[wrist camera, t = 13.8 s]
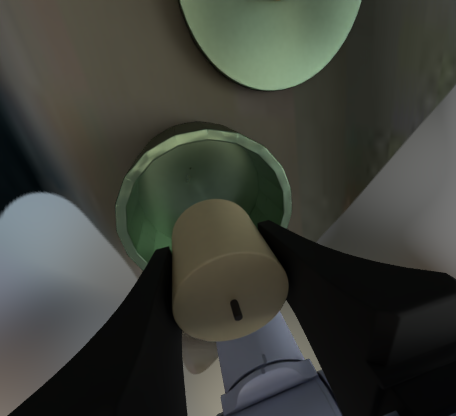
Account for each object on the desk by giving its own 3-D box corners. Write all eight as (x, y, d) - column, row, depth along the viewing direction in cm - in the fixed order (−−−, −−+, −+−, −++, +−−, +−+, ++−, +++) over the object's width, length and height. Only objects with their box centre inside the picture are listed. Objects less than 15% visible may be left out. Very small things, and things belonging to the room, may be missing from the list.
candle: (255, 255, 13) (299, 337, 9) (183, 276, 13) (190, 374, 8) (246, 189, 11) (297, 249, 7) (161, 210, 11) (153, 291, 6)
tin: (267, 229, 22) (293, 263, 18) (155, 259, 21) (150, 305, 16) (256, 109, 17) (289, 112, 12) (107, 138, 16) (79, 153, 11)
